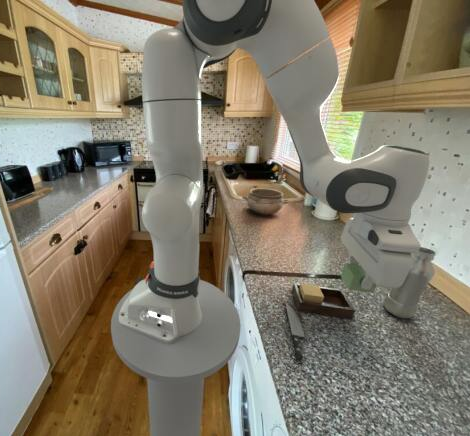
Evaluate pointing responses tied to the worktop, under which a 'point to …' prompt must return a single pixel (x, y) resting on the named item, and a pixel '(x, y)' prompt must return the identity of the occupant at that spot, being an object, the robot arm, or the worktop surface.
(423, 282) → the plastic bottle
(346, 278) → the green block
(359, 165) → the robot arm
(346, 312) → the brown wooden tray
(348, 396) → the worktop surface
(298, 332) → the chef's knife
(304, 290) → the tan block
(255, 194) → the cooking pot
